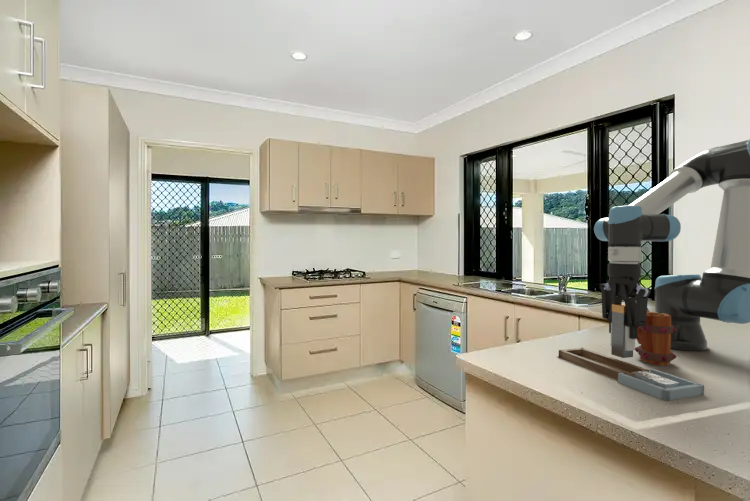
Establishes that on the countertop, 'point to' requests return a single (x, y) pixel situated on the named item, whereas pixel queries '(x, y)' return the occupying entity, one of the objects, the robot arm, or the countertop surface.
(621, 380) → the tray
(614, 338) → the grey and tan block
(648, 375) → the chip
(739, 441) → the countertop surface
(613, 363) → the slot board
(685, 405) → the countertop surface
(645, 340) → the mug
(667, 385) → the chip
